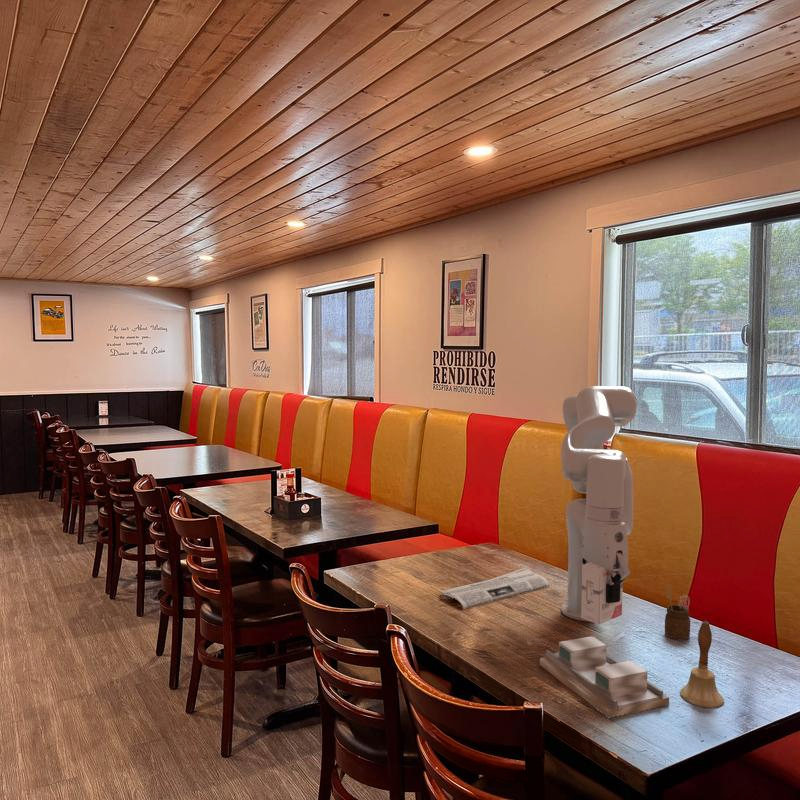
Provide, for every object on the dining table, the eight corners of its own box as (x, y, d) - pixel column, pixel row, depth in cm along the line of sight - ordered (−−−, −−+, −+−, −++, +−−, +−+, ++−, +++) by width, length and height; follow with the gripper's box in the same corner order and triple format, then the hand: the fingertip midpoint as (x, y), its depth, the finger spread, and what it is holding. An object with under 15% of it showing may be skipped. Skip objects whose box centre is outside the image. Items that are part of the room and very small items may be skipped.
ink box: (603, 608, 145) (605, 556, 144) (623, 615, 141) (625, 561, 140) (579, 618, 140) (580, 563, 139) (599, 625, 136) (600, 569, 135)
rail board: (594, 654, 155) (595, 629, 155) (669, 704, 133) (670, 675, 132) (539, 664, 150) (540, 638, 149) (607, 718, 127) (608, 688, 127)
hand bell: (711, 687, 140) (713, 614, 139) (732, 707, 132) (735, 630, 131) (672, 687, 140) (675, 614, 139) (691, 708, 131) (694, 630, 130)
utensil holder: (680, 642, 162) (682, 594, 161) (658, 633, 167) (659, 587, 167) (695, 637, 165) (696, 590, 165) (672, 628, 171) (673, 583, 170)
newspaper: (463, 611, 183) (463, 599, 182) (436, 597, 193) (436, 586, 193) (552, 587, 202) (552, 576, 202) (523, 576, 213) (523, 565, 212)
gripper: (647, 521, 132) (644, 608, 133) (593, 503, 148) (591, 581, 150) (616, 524, 130) (614, 613, 131) (565, 505, 146) (563, 585, 147)
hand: (602, 595), depth 140 cm, fingers closed on ink box, 6 cm apart
